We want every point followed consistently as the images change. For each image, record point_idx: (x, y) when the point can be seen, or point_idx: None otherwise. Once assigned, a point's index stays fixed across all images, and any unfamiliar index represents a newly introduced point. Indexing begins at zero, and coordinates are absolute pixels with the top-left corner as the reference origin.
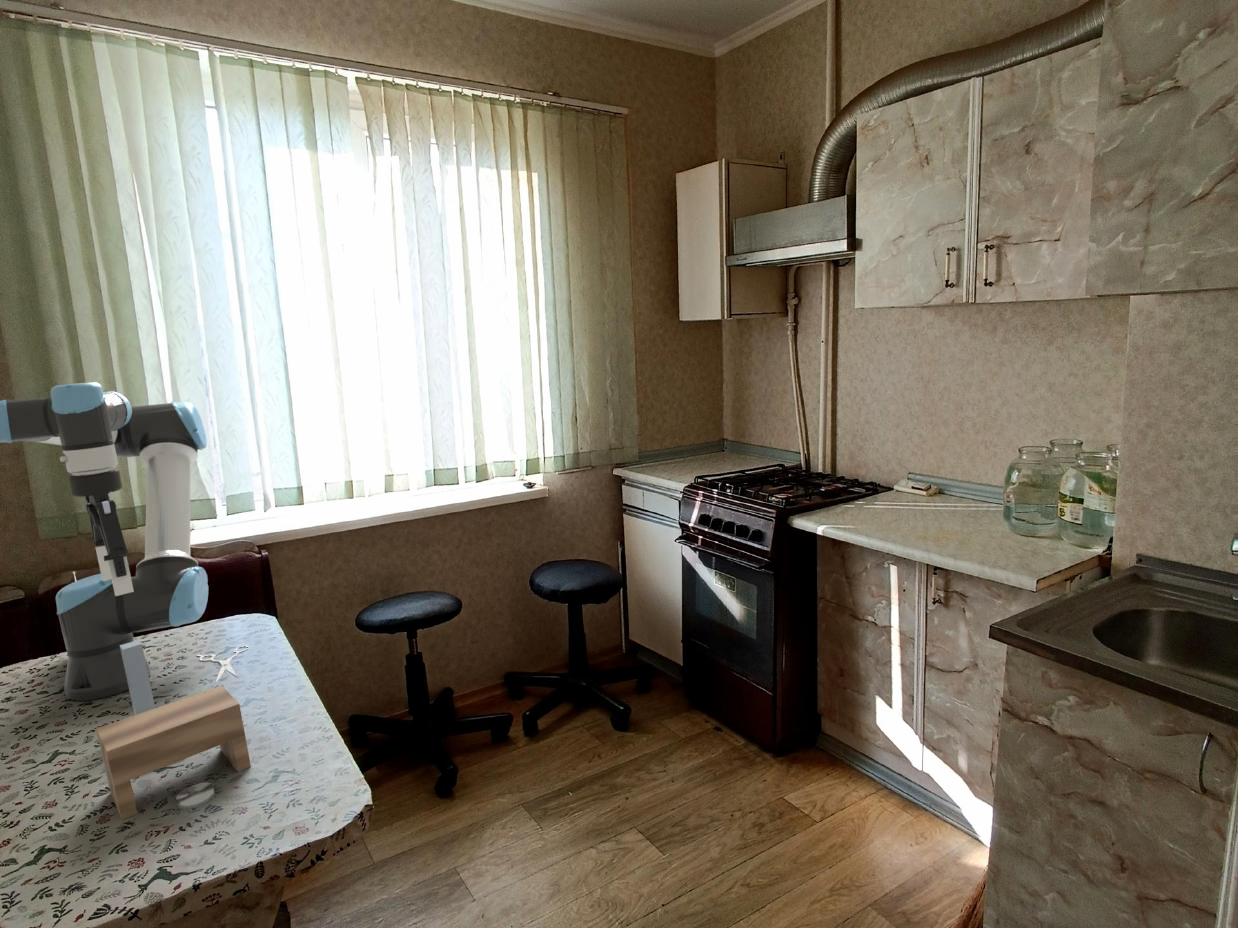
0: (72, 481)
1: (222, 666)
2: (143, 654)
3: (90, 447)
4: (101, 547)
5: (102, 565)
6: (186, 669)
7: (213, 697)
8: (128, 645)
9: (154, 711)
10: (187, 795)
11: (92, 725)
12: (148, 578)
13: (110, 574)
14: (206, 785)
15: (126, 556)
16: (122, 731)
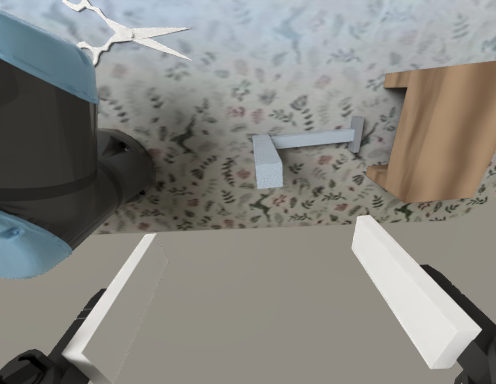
0: None
1: (134, 40)
2: (279, 157)
3: None
4: (108, 370)
5: (149, 298)
6: (117, 88)
7: (474, 85)
8: (269, 179)
9: (429, 154)
10: None
11: (218, 183)
12: None
13: (157, 259)
14: None
15: (479, 327)
16: (443, 184)
